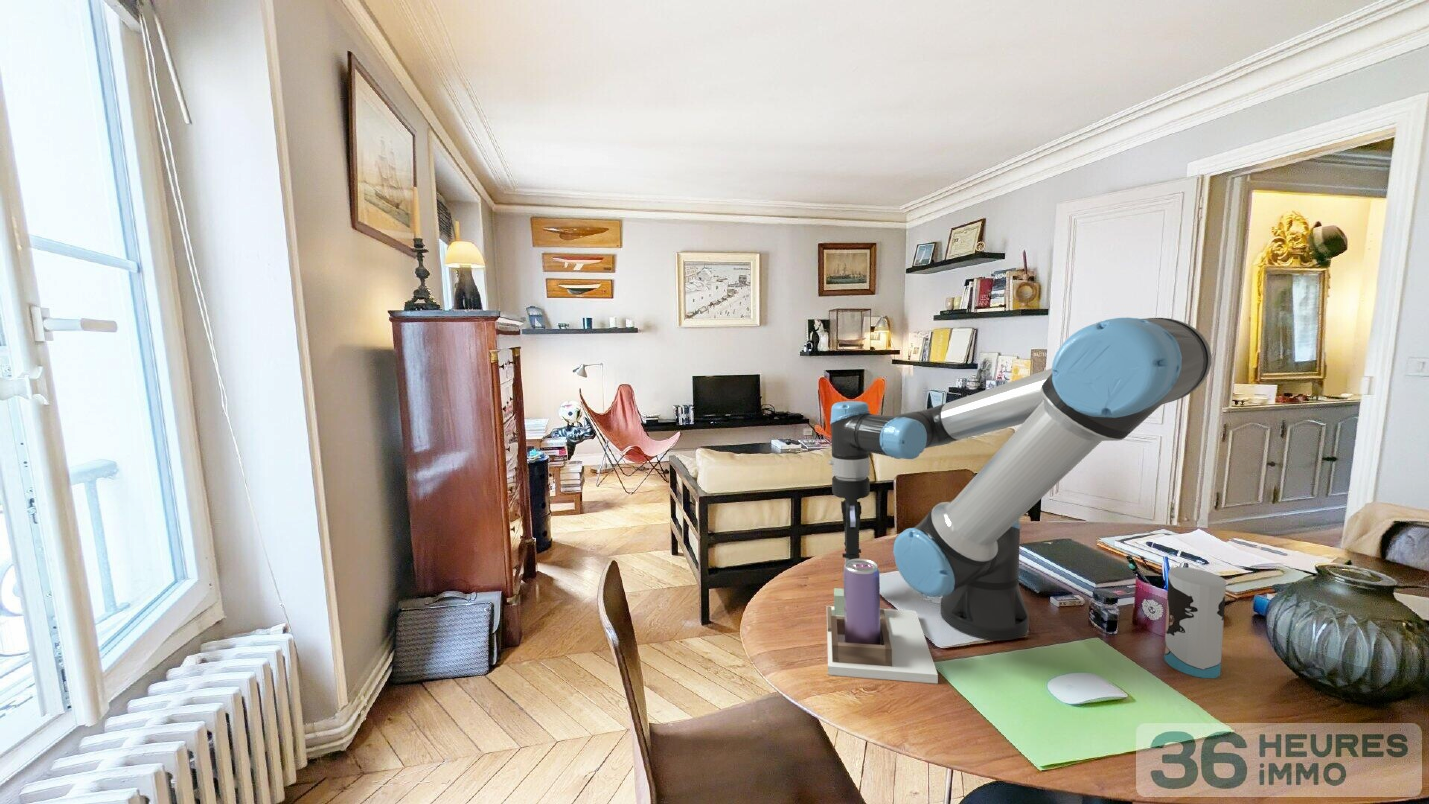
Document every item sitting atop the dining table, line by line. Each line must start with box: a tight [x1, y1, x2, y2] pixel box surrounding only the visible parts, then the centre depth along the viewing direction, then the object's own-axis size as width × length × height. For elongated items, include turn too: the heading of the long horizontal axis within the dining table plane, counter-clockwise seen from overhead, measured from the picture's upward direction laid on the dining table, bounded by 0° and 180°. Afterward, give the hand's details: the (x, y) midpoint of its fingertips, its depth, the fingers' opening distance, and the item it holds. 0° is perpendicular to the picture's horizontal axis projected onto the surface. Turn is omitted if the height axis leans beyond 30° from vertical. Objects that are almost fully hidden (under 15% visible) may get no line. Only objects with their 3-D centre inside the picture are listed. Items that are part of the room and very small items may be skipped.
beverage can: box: [842, 557, 881, 645], centre depth 90 cm, size 6×6×15 cm
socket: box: [831, 616, 892, 667], centre depth 91 cm, size 10×10×3 cm
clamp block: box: [833, 587, 844, 616], centre depth 102 cm, size 8×3×4 cm, turn 78°
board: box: [826, 605, 939, 684], centre depth 94 cm, size 17×20×2 cm
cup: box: [1163, 566, 1227, 679], centre depth 83 cm, size 7×7×15 cm
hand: (852, 584), depth 111 cm, fingers closed
